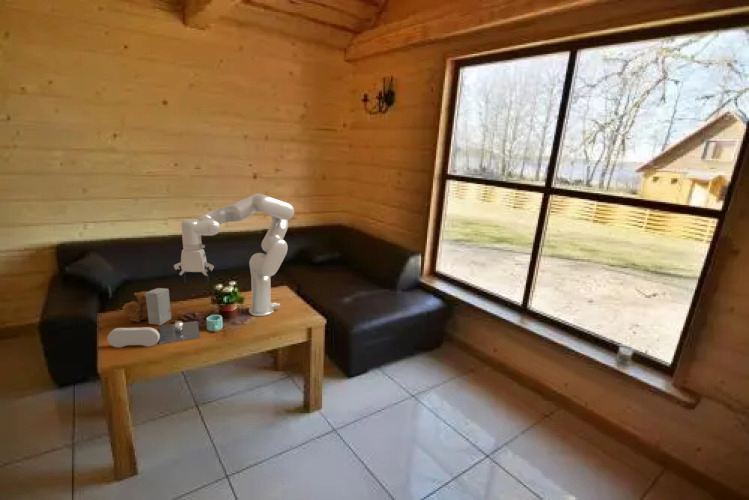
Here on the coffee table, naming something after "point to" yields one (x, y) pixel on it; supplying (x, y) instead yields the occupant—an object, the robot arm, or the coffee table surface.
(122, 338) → the game controller
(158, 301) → the skincare box
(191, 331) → the grey plate with knob
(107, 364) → the coffee table surface
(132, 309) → the stuffed squirrel
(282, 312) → the coffee table surface
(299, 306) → the coffee table surface
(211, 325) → the teal cup
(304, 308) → the coffee table surface
